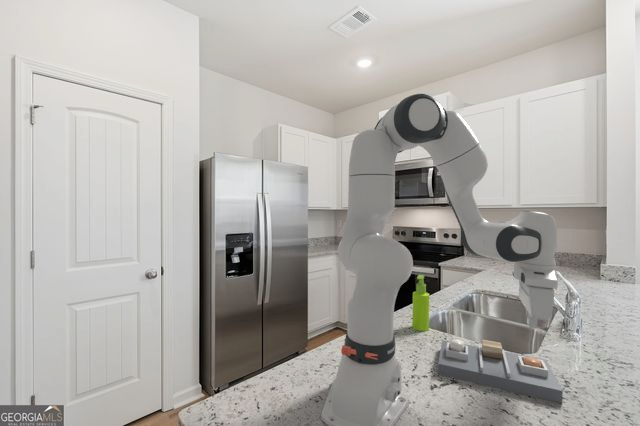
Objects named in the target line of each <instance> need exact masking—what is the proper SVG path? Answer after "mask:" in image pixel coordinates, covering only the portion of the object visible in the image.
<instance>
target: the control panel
mask: <svg viewBox="0 0 640 426" xmlns="http://www.w3.org/2000/svg"><path fill="white" fill-rule="evenodd" d="M450 346H451V340H450V341H449V340H444V339H442V340H441V346H440V351H439V358H438V363H437V372H438V373H437V375H439V376H443V377H447V378H451V379H455V380H459V381H464V382H469V383H472V384H477V385H482V386H485V387H490V388H494V389H498V390H503V391H506V392H510V393H511V392H512V393H516V394H520V395H523V396H528V397H533V398H537V399H542V400H546V401H549V402H555V403H557V404H558V403H559V404H563V389H562V387H561V385H560V383H559V381H558V379H557V378H556V376H555V374H554V372H553V370H552V368H551V366H550V365H549V363H548V360H547V359H546V358H541V357H535V356H530V355H526V354H519V353H513V352H508V351H505V349H503V348H502V359H498V358H493V357H488V356H483V354H482V344H478V346H476V345H471V344H465V343H464V352H457V351H452V350H451V349H450ZM525 357H532V358H535V359H538V360H539V361H540V362H541V368H538V367H533V366H528V365H524V358H525Z"/></svg>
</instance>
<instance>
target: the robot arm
mask: <svg viewBox="0 0 640 426" xmlns="http://www.w3.org/2000/svg"><path fill="white" fill-rule="evenodd" d="M417 147H421V148H422V149H423V150H425V151H426V152H427V153H428V155H430V157H431V160H432V161H433V164H434V165H435V167H436V169H437V171H438V173H439V175H440V178H441V180H442V182H443V187H444V192H445V195H446V197H447V199H448V202H449V204H450V207H451V209H452V211H453V214H454V216H455V218H456V220H457V222H458V225H459V227H460V228H459V229H460V232H461V233H460V234H461V241H462V245H463V246H464V248H465V250H466V251H467V252H468V253H469V254H471V255H472V256H475V257H481V258H489V259H493V260H498V261H502V262H506V263H514V264H513V265H514V267H513V268H514V269H513V278H514V279H515V280H518V284H519V285H518V286H519V288H518V299H520V301H521V303H522V304H523V306H524V308H525V313H526V324H527V325H528V327H529V328H531V329H537V328H538V321H544V322H545V321H546V322H548V321H550V319H551V317H552V314H553V308H554V300H555V290H557V289H558V284H559V283H558V278H557V272H556V269H557V262H556V258H555V254H556V251H557V249H558V248H557V247H558V227H557V222H556V220H555V219H556V218H554V216H553V215H551V214H549V213H546V212H542V211H535V210H534V211H533V210H524V211H521V212H519V214H518V215H517V216H516V217H514V218H512V219H510V220H508V221H504V222H503V223H502V222H490V221H488V220H486V219H485V218H484V217H483V216H482V214H481V211H480V210H479V207H478V204H477V202H476V200H475V197H474V195H473V189H474V187H475V186H476V185H477V184H478V183H480V182H481V180H483V178H484V176H485V175H486V172H487V169H488V167H489V163H488V160H487V159H488V158H487V156H486V155H487V154H486V153H485V151H484V149H483V147H482V145H481V143H480V142H479V140H478V138H477V136H476V135H475V134H474V132H473V130H472V129H471V128H470V126H469V125H468V123H467V122H466V121H465V119H463V117H462V116H461V115H460V114H459V113H458V112H456V111H453V110H447V109H445V108H444V107H443V106H442V105H441V104H440V102H439V101H438V100H437V99H436V98H434V97H433V96H430V95H429V94H426V93H416V94H412V95H409V96H407V97H405V98H403V99H402V100H400V102H399V103H397V104H396V105H394V106H392V107H391V108H389V110H387V112H386V113H385V114H384V115H383V116H382V117H380V119H379V120H378V121H377V123H376V125H375V127H374V128H373V129H366V130H364V131H361V132H359V133H358V134H357V135H356V136H354V139H353V141H352V144H351V149H350V150H351V151H350V156H349V162H348V163H349V164H348V191H347V192H348V196H347V197H348V198H347V200H348V201H347V202H348V203H347V204H348V205H347V212H346V220H345V224H344V229H343V232H342V233H343V234H342V237H341V240H340V242H339V243H338V247H337V255H338V258H339V260H340V261H341V264H342V265H343V266H344V267H345V269H347V270H348V271H349V272H351V273H353V274H355V278H356V279H355V284H354V285H355V286H354V289H353V293H352V296H351V298H349V300H348V302H347V329H346V330H347V331H346V333H345V338H344V344H343V345H342V346H341V349H340V350H341V351H340V353H341V355H342V356H341V358H340V362H339V365H338V368H337V372H336V375H335V377H334V379H333V382H332V384H331V386H330V389H329V391H328V394H327V397H326V399H325V400H326V401H325V402H324V405H323V408H322V411H321V416H320V418H321V419H320V420H322V422H323V423H324V424H326V426H395V425H396V423H397V422H398V421H399V419H400V418H401V415H402V414H403V413H404V411H405V410H406V409H407V407H408V405H409V404H410V398H409V396H408V395H407V394H405V393H404V392H403V375H402V364H401V363H400V362H399V361H398V359H397V358H396V355H395V354H396V337H395V336H394V319H395V318H394V315H395V313H394V312H395V304H396V300H397V296H398V293H399V291H400V288H401V287H402V285H403V284H404V283H406V282H408V280H409V278H410V277H411V275H412V271H413V268H414V260H413V255H412V254H411V251H410V250H409V249H408V248H407V246H405V245H404V244H402V243H401V242H399V241H398V240H396V239H395V238H392V237H391V236H390V237H389V236H385V230H386V226H387V223H388V220H389V218H390V216H391V215H392V213H393V212H394V211H395V204H396V203H395V202H396V200H395V199H396V165H395V163H396V159H397V156H398V154H400V153H402V152H404V151H408V150H412V149H414V148H417Z"/></svg>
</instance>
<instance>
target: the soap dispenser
mask: <svg viewBox="0 0 640 426" xmlns="http://www.w3.org/2000/svg"><path fill="white" fill-rule="evenodd" d="M424 279H425V274H418V275H417V277H416V280H418V282H417V283H416V287H415V289H416V291H413V292H412V323H411V324H412V329H414V330H415V331H418V332H419V331H420V332H427V331H429V330H430V293H428V292H427V284H426V283H424V282H425V281H424Z"/></svg>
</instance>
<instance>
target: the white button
mask: <svg viewBox="0 0 640 426" xmlns="http://www.w3.org/2000/svg"><path fill="white" fill-rule="evenodd" d="M450 342H451V346H450V349H451V350H452V351H457V352H464V344H465V341H463V340H461V339H457V338H456V339H454V338H453V339H451V340H450Z"/></svg>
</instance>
